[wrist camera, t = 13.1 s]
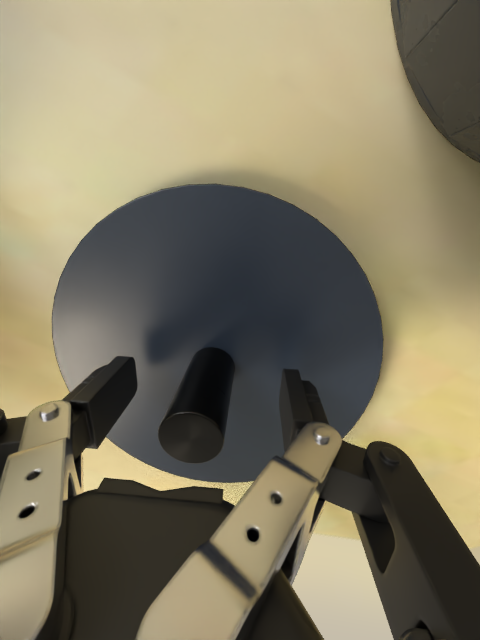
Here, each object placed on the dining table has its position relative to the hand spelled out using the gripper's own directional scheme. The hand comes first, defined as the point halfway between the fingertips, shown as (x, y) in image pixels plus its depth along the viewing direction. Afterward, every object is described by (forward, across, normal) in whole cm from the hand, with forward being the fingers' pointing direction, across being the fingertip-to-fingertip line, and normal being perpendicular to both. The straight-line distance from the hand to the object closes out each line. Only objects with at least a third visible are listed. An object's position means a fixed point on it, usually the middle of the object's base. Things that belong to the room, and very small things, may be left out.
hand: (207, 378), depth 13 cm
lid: (+2, 0, 0) cm, 2 cm away
